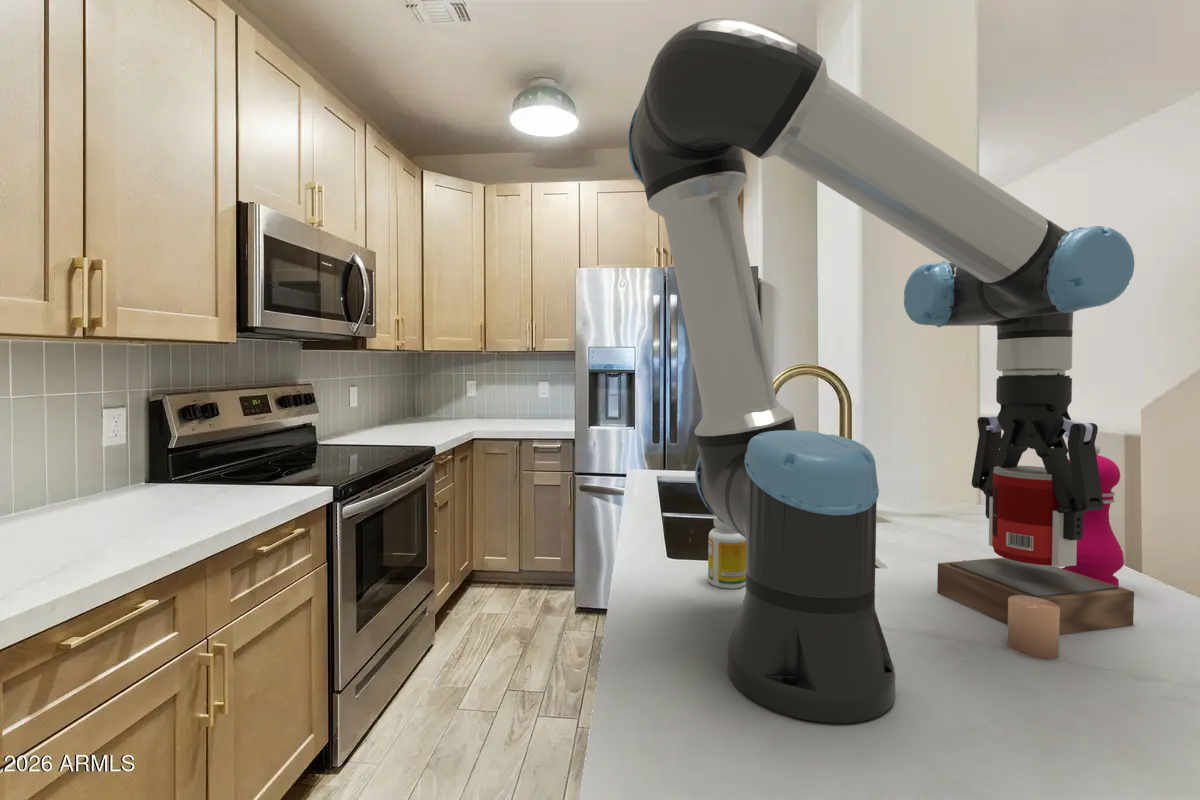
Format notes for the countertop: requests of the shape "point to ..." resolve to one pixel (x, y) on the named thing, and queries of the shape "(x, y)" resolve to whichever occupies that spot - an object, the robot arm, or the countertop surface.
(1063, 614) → the wooden box
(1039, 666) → the countertop surface
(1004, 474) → the canned food
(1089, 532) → the pepper mill
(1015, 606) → the peach pillar candle
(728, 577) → the supplement bottle
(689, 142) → the robot arm
